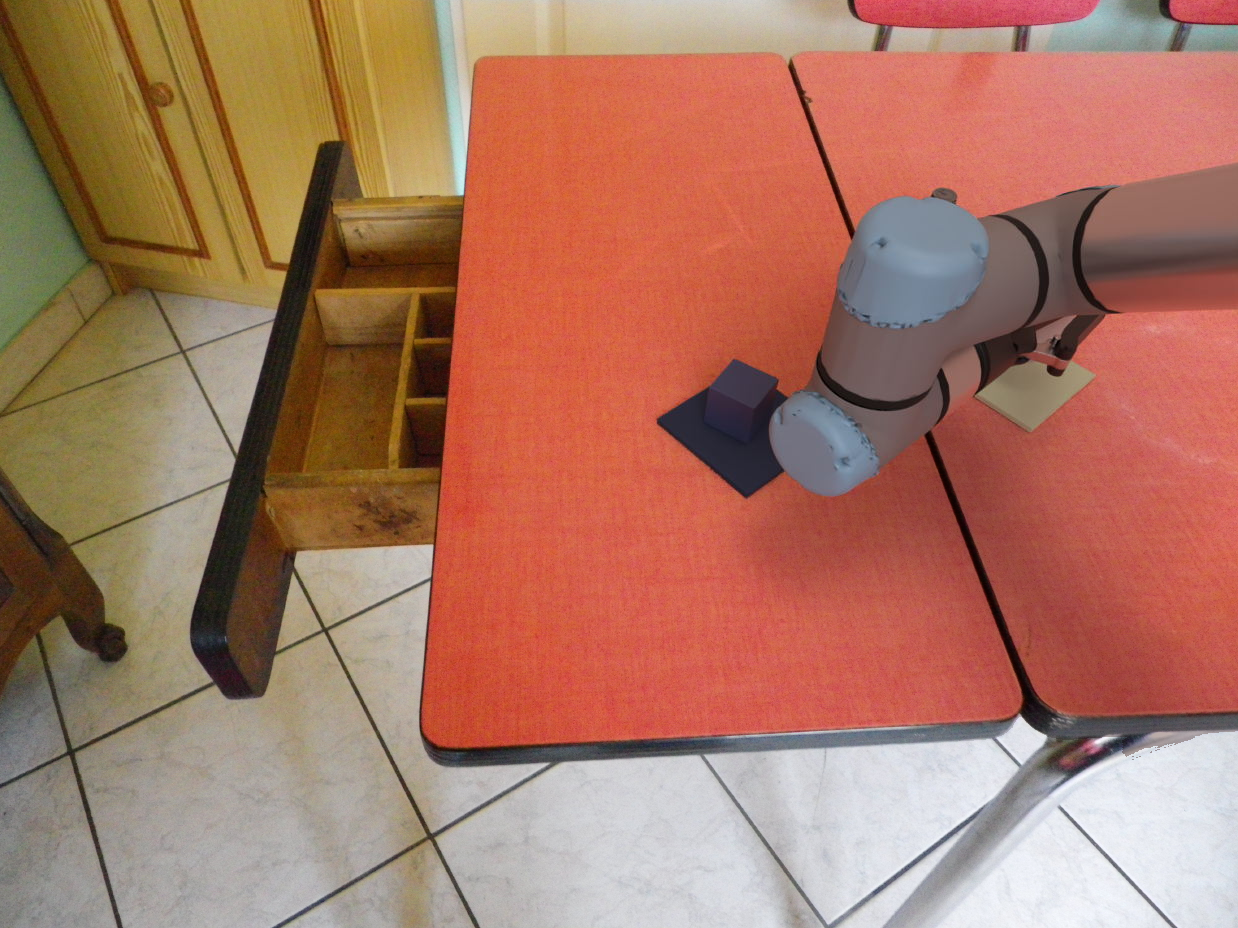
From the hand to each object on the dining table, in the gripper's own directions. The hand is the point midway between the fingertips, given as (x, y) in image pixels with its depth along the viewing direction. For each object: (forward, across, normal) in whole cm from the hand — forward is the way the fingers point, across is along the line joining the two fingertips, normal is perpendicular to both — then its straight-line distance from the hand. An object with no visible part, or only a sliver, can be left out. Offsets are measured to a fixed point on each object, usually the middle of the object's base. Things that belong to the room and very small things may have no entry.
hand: (1099, 242), depth 74 cm
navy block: (-30, -12, -12) cm, 35 cm away
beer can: (+9, -19, -12) cm, 24 cm away
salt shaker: (-5, 0, -9) cm, 11 cm away
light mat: (-5, 0, -12) cm, 13 cm away
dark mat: (-30, -11, -12) cm, 35 cm away
